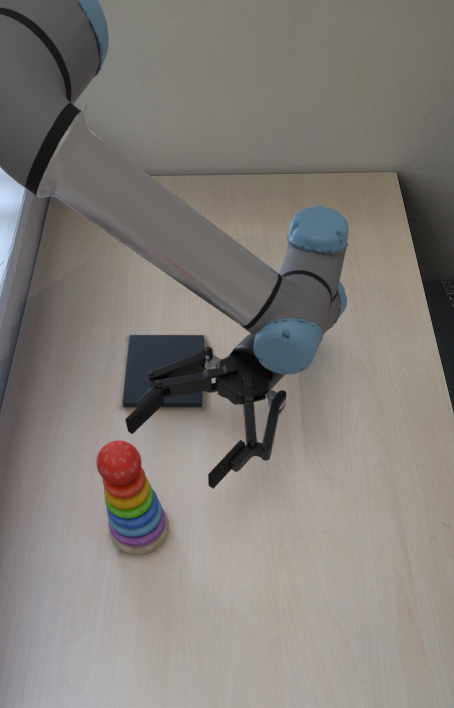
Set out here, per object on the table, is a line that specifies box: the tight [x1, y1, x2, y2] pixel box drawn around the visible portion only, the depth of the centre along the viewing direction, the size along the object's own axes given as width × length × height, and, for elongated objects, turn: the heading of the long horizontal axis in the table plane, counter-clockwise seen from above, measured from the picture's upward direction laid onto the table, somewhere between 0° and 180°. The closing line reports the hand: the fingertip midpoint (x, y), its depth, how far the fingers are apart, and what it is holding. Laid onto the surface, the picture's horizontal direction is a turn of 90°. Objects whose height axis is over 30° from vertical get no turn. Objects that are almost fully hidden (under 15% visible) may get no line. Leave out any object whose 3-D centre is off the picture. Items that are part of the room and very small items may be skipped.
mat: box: [122, 334, 205, 408], centre depth 100 cm, size 12×14×1 cm
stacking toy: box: [95, 440, 170, 555], centre depth 79 cm, size 8×8×19 cm
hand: (168, 453), depth 81 cm, fingers open, 13 cm apart
